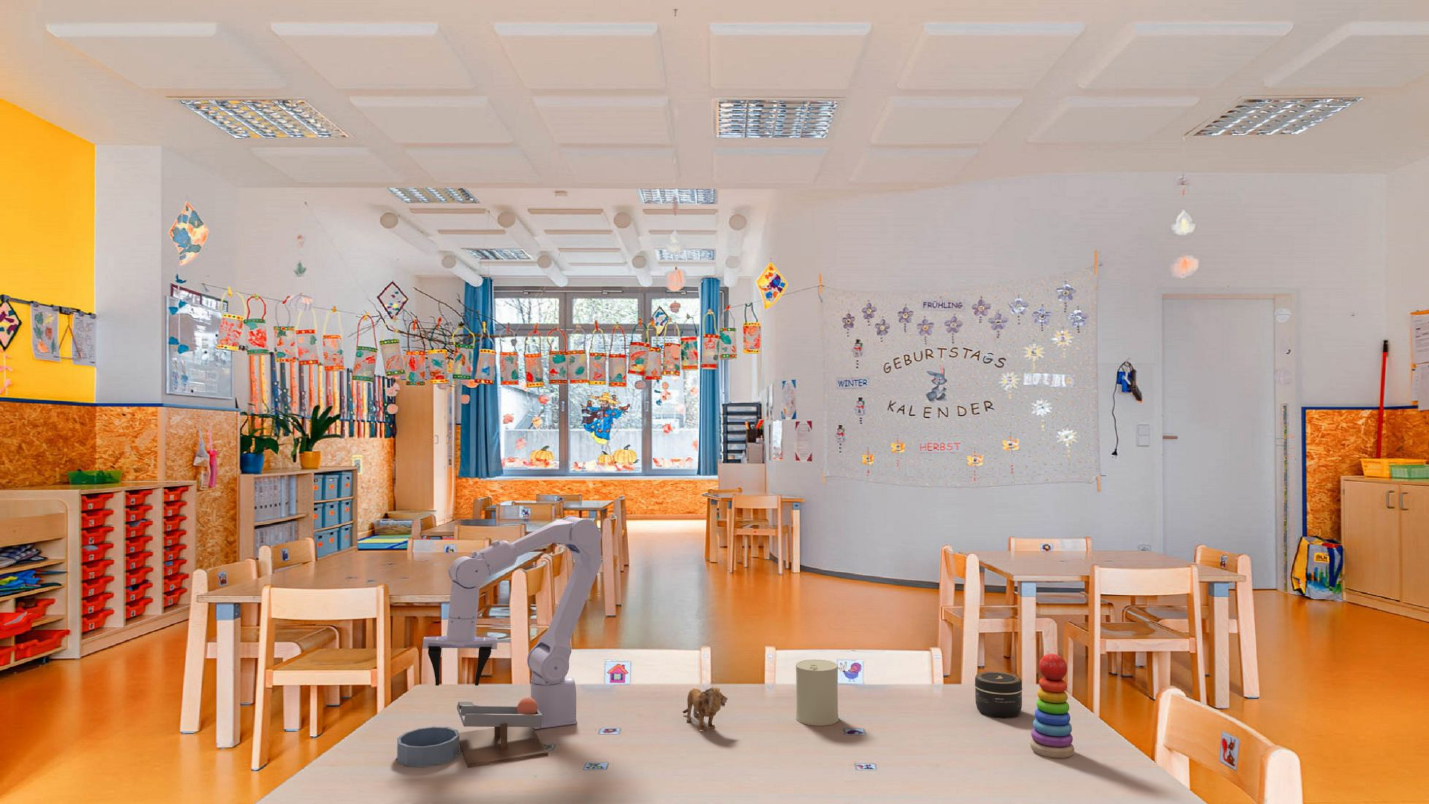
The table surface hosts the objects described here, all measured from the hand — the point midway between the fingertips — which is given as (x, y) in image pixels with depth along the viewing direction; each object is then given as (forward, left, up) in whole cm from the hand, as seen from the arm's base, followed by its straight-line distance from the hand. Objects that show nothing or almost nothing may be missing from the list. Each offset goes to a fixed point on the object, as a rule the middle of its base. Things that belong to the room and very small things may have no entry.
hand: (457, 684), depth 176 cm
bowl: (+6, +7, -11) cm, 14 cm away
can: (-73, +18, -11) cm, 76 cm away
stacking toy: (-105, +53, -11) cm, 118 cm away
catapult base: (-8, +7, -11) cm, 15 cm away
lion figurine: (-49, +12, -11) cm, 52 cm away
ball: (-13, +7, -4) cm, 15 cm away
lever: (-8, +4, -6) cm, 11 cm away
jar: (-112, +30, -11) cm, 117 cm away
